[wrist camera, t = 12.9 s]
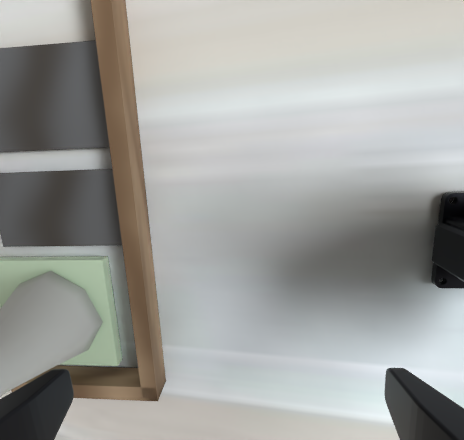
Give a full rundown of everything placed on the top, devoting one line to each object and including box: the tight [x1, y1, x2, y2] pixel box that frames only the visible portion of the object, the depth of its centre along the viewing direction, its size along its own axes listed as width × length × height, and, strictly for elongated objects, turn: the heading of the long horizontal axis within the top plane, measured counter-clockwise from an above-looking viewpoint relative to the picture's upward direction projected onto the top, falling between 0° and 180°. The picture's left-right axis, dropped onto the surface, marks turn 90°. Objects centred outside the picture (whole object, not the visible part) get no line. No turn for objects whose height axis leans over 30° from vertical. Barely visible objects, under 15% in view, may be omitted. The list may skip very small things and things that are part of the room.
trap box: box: [0, 0, 166, 401], centre depth 19 cm, size 12×38×2 cm, turn 2°
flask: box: [0, 271, 103, 397], centre depth 18 cm, size 7×7×10 cm
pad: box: [0, 256, 122, 366], centre depth 23 cm, size 9×9×1 cm
